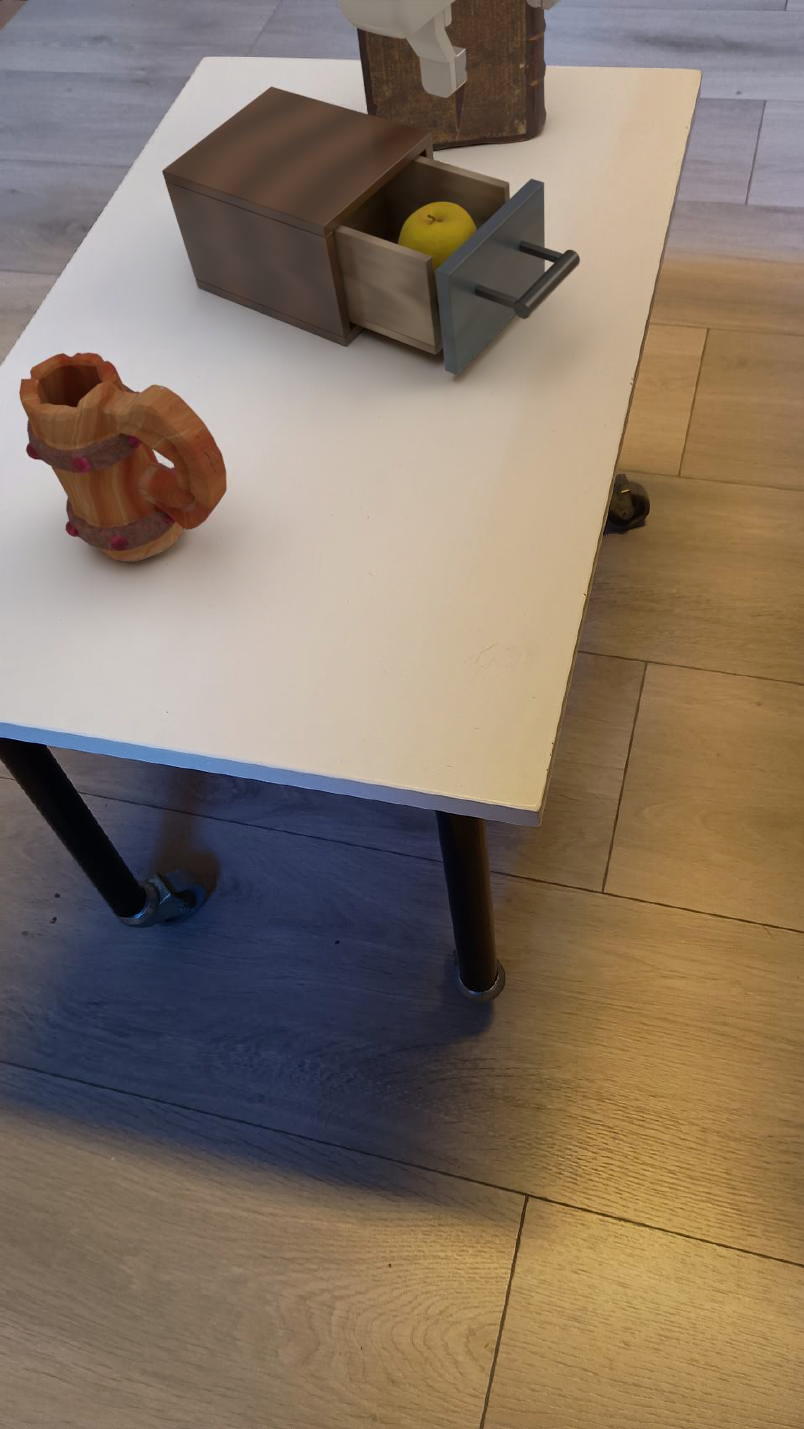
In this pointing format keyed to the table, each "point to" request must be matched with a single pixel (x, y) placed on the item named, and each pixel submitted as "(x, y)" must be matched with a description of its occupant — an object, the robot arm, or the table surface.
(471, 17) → the book
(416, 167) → the drawer
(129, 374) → the table surface
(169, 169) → the cabinet
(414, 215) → the apple
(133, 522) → the mug
